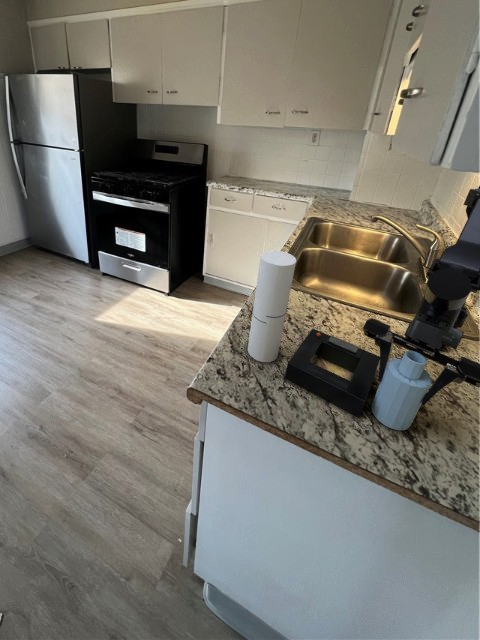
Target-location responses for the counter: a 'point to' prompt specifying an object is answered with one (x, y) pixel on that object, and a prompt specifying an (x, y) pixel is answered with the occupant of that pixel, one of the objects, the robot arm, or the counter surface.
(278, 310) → the cylindrical container
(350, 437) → the counter surface
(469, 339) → the counter surface
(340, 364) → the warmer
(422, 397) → the vase
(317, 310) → the counter surface
